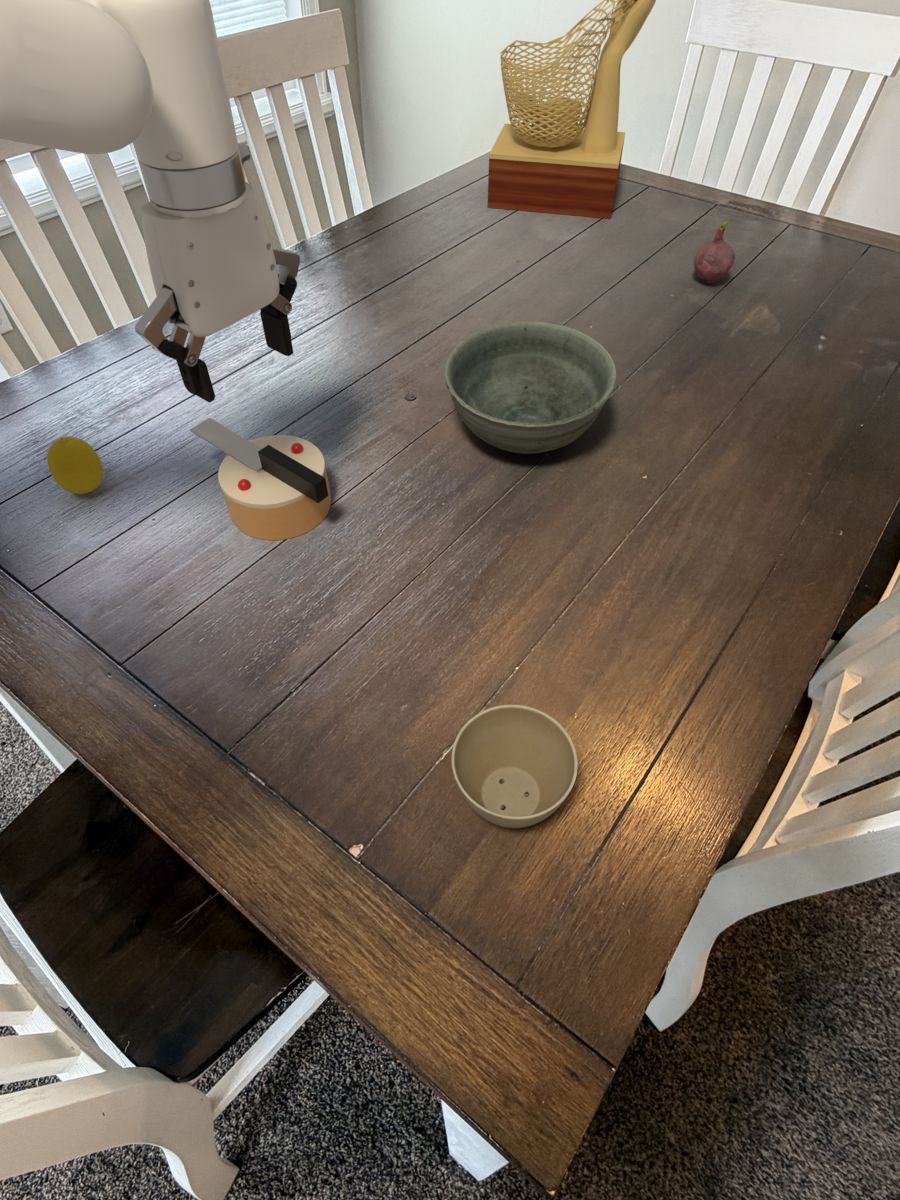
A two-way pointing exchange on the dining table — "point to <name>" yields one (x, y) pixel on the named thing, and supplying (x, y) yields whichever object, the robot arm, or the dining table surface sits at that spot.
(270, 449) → the knife
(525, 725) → the flower pot
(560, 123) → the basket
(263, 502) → the cake
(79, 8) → the robot arm
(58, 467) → the lemon
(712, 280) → the vegetable
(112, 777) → the dining table surface
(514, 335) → the bowl
